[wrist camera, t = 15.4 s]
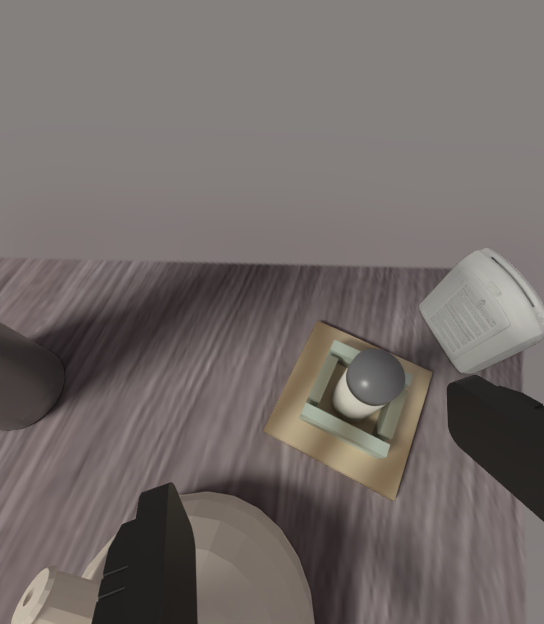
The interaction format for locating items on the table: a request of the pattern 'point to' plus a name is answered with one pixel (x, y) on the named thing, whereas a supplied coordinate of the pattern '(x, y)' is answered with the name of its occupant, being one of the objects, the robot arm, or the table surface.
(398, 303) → the table surface
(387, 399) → the grey and white cylinder
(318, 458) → the holder
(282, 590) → the kettle
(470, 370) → the photo printer
